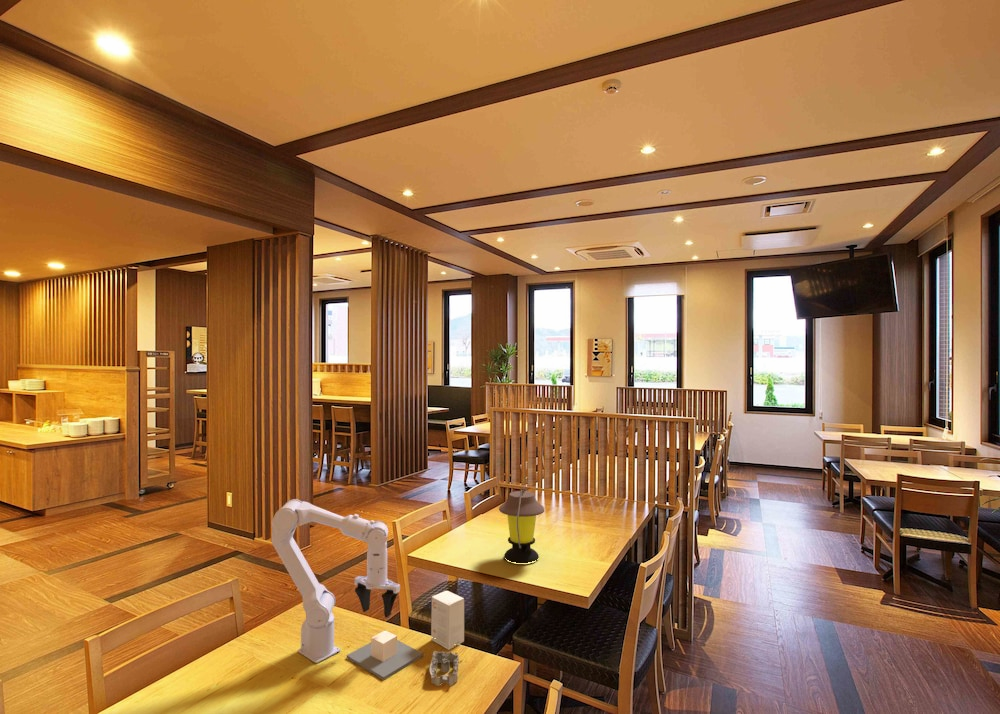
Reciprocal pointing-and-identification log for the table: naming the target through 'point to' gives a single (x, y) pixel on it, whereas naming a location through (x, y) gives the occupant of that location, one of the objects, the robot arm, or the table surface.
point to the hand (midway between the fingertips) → (376, 613)
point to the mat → (387, 667)
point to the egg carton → (444, 667)
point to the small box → (447, 619)
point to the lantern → (521, 525)
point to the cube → (384, 646)
